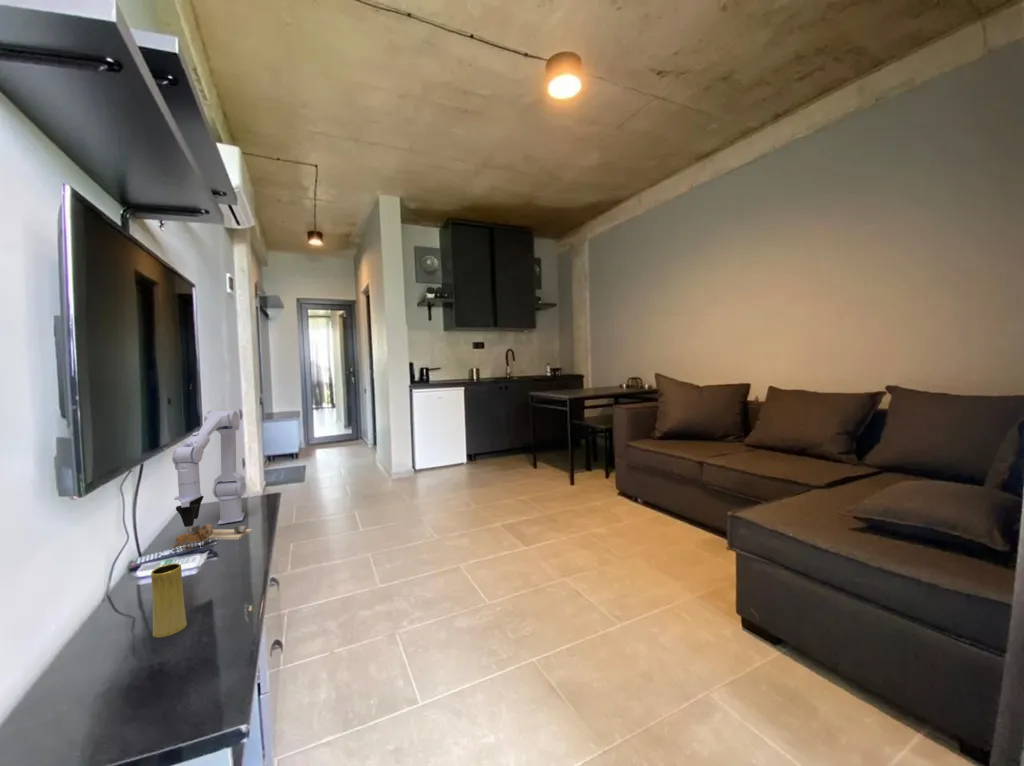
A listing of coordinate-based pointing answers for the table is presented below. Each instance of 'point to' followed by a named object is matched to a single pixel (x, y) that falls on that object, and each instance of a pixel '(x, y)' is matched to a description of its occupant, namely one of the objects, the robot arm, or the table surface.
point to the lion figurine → (195, 536)
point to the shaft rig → (224, 532)
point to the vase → (168, 600)
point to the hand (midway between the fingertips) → (191, 522)
